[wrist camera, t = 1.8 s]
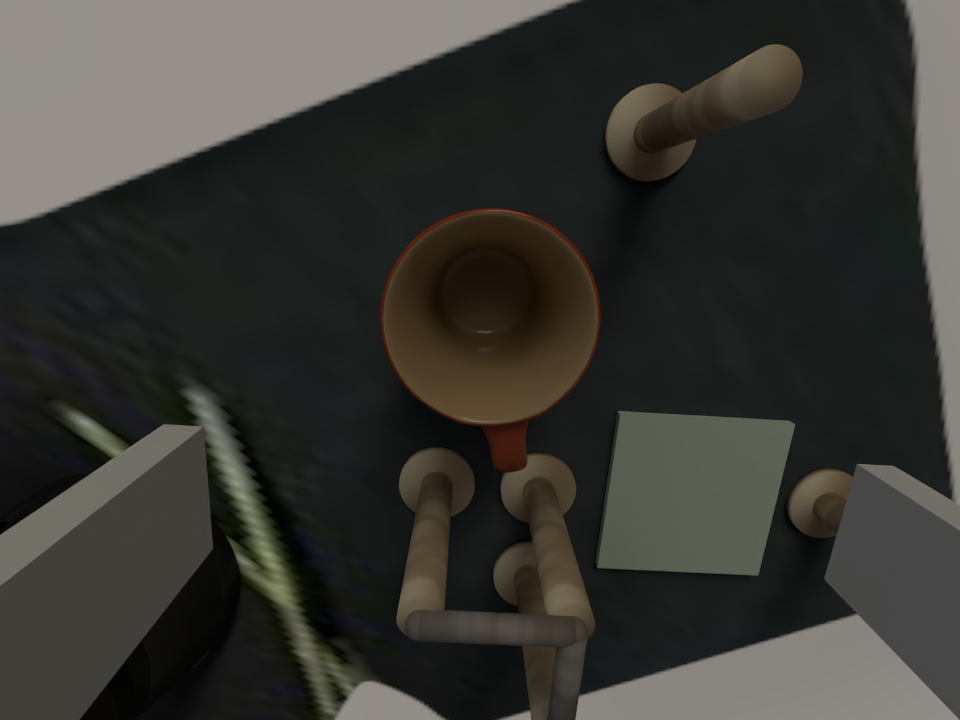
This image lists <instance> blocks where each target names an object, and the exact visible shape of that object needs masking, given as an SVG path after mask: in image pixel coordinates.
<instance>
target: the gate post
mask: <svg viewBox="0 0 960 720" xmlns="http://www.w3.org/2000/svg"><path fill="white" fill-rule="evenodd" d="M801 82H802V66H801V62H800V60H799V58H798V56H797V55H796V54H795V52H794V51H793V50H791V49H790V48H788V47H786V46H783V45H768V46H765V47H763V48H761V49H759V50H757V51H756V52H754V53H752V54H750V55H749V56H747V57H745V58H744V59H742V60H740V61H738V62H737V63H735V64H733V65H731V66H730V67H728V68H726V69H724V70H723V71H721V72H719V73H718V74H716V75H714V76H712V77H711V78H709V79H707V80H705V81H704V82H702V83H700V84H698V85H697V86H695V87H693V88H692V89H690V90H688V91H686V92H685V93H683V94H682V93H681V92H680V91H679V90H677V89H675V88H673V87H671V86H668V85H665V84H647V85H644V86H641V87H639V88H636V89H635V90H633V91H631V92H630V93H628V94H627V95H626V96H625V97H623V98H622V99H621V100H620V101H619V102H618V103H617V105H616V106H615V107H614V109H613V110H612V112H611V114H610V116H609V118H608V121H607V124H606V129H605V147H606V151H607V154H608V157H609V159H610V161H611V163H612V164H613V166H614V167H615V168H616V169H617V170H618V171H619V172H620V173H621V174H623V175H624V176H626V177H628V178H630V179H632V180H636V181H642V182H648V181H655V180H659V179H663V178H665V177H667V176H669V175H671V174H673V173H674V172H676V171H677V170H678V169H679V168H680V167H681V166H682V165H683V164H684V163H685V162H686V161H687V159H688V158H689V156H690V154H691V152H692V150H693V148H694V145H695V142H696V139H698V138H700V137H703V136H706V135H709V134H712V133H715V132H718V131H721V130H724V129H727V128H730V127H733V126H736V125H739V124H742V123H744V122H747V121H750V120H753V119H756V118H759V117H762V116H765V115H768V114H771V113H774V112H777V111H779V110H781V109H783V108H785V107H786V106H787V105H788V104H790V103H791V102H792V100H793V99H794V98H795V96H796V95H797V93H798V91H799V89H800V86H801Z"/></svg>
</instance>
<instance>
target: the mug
mask: <svg viewBox="0 0 960 720" xmlns="http://www.w3.org/2000/svg"><path fill="white" fill-rule="evenodd" d="M600 323H601V308H600V300H599V294H598V290H597V286H596V283H595V280H594V277H593V275H592V273H591V270H590V268H589V266H588V264H587V263H586V261H585V259H584V258H583V256H582V255H581V253H580V252H579V251H578V249H577V248H576V247H575V246H574V245H573V244H572V243H571V241H570V240H569V239H568V238H566V237H565V236H564V235H563V234H562V233H561V232H559V231H558V230H557V229H555V228H554V227H553V226H551V225H549V224H548V223H546V222H544V221H542V220H540V219H538V218H536V217H534V216H531V215H528V214H525V213H522V212H518V211H514V210H508V209H499V208H484V209H474V210H469V211H464V212H461V213H458V214H454V215H452V216H449V217H447V218H445V219H442V220H440V221H439V222H437V223H435V224H433V225H432V226H430V227H429V228H427V229H426V230H424V231H423V232H422V233H421V234H419V235H418V236H417V237H416V238H415V239H414V240H413V241H412V242H411V243H410V244H409V245H408V246H407V247H406V248H405V250H404V251H403V252H402V254H401V255H400V256H399V258H398V259H397V261H396V263H395V264H394V266H393V268H392V270H391V272H390V274H389V276H388V279H387V282H386V284H385V288H384V292H383V296H382V302H381V311H380V324H381V334H382V340H383V344H384V348H385V351H386V354H387V357H388V359H389V361H390V363H391V366H392V368H393V369H394V371H395V373H396V375H397V376H398V378H399V379H400V380H401V382H402V383H403V385H404V386H405V387H406V388H407V389H408V390H409V391H410V392H411V394H413V395H414V396H415V397H416V398H417V399H418V400H419V401H420V402H422V403H423V404H424V405H426V406H427V407H429V408H430V409H432V410H433V411H435V412H437V413H439V414H441V415H443V416H445V417H447V418H449V419H451V420H454V421H456V422H459V423H462V424H466V425H472V426H481V427H482V429H483V431H484V433H485V434H486V436H487V438H488V441H489V445H490V449H491V455H492V462H493V466H494V469H495V470H496V471H497V472H499V473H510V472H516V471H520V470H523V469H524V468H525V467H526V466H527V462H528V459H527V449H526V430H527V427H528V422H529V419H531V418H535V417H537V416H539V415H542V414H544V413H545V412H547V411H548V410H550V409H551V408H552V407H554V406H555V405H556V404H557V403H559V402H560V401H561V400H562V399H563V398H564V397H565V396H566V395H567V394H568V393H569V392H570V391H571V390H572V389H573V388H574V387H575V386H576V384H577V383H578V382H579V380H580V379H581V378H582V376H583V375H584V373H585V371H586V370H587V368H588V366H589V364H590V362H591V360H592V358H593V355H594V352H595V350H596V346H597V342H598V338H599V332H600Z"/></svg>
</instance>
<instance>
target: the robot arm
mask: <svg viewBox="0 0 960 720" xmlns="http://www.w3.org/2000/svg"><path fill="white" fill-rule="evenodd" d="M824 580H825V581H826V582H827V583H828V584H829V585H830V586H831V587H832V588H833V589H834V590H835V591H836V592H837V593H838V594H839V595H840V596H841V597H842V598H843V599H844V600H845V601H846V602H847V603H848V604H849V605H850V606H851V607H852V609H853V610H854V611H855V612H856V613H857V614H858V615H859V616H860V617H861V618H862V619H863V620H864V621H865V622H866V623H867V624H868V625H869V626H870V627H871V628H872V629H873V630H874V631H875V632H876V633H877V634H878V635H879V637H880V638H881V639H882V640H883V641H884V642H885V643H886V644H887V645H888V646H889V647H890V648H891V649H892V650H893V651H894V652H895V653H896V654H897V655H898V656H899V657H900V658H901V659H902V660H903V661H904V662H905V663H906V665H907V666H908V667H909V668H910V669H911V670H912V671H913V672H914V673H915V674H916V675H917V676H918V677H919V678H920V679H921V680H922V681H923V682H924V683H925V684H926V685H927V686H928V687H929V688H930V689H931V690H932V691H933V693H934V694H936V695H937V697H938V698H939V699H940V700H941V701H942V702H943V703H944V704H945V705H946V706H947V707H948V708H949V709H950V710H951V711H952V712H953V713H954V714H955V715H956V716H957V717H958V718H959V719H960V505H958V504H956V503H955V502H953V501H951V500H950V499H948V498H946V497H945V496H943V495H941V494H940V493H938V492H936V491H935V490H933V489H931V488H930V487H928V486H926V485H925V484H923V483H921V482H920V481H918V480H916V479H914V478H913V477H911V476H909V475H908V474H906V473H904V472H903V471H901V470H899V469H898V468H896V467H894V466H882V465H865V464H857V466H856V470H855V473H854V477H853V480H852V484H851V487H850V491H849V494H848V498H847V501H846V505H845V508H844V512H843V515H842V519H841V522H840V526H839V529H838V533H837V536H836V540H835V543H834V547H833V550H832V554H831V557H830V561H829V564H828V568H827V571H826V575H825V578H824ZM239 591H240V578H239V570H238V565H237V561H236V558H235V555H234V553H233V550H232V548H231V546H230V544H229V542H228V540H227V538H226V537H225V535H224V534H223V532H222V531H221V529H220V528H219V527H218V525H217V524H216V523H215V522H214V520H213V519H212V518H211V516H210V503H209V490H208V478H207V465H206V453H205V440H204V427H199V426H181V425H162V426H161V427H159V428H158V429H156V430H155V431H153V432H152V433H150V434H149V435H147V436H146V437H144V438H143V439H142V440H140V441H139V442H137V443H136V444H134V445H133V446H131V447H130V448H128V449H127V450H125V451H124V452H122V453H121V454H119V455H118V456H116V457H115V458H113V459H112V460H110V461H109V462H107V463H106V464H105V465H103V466H102V467H100V468H99V469H97V470H96V471H94V472H93V473H84V474H79V475H75V476H71V477H68V478H65V479H62V480H59V481H57V482H55V483H53V484H51V485H49V486H47V487H45V488H44V489H42V490H41V491H39V492H38V493H36V494H35V495H33V496H31V497H30V498H28V499H27V500H25V501H24V502H22V503H21V504H19V505H18V506H16V507H15V508H14V509H12V510H11V511H10V512H9V513H8V514H6V515H5V516H4V517H3V518H2V519H1V520H0V720H135V719H137V718H138V717H139V716H140V715H141V714H142V713H143V712H144V711H146V710H147V709H148V708H149V707H150V706H151V705H152V704H153V703H155V702H156V701H157V700H158V699H159V698H160V697H161V696H162V695H163V694H165V693H166V692H167V691H168V690H169V689H170V688H171V687H172V686H173V685H174V684H175V683H177V682H178V681H179V680H180V679H182V678H183V677H184V676H186V675H187V674H188V673H190V672H191V671H192V670H194V669H195V668H196V667H197V666H198V665H199V664H201V663H202V662H203V661H204V659H205V658H206V657H207V656H208V655H209V654H210V652H211V651H212V650H213V648H214V647H215V646H216V644H217V642H218V641H219V639H220V637H221V636H222V634H223V632H224V631H225V629H226V627H227V626H228V624H229V622H230V621H231V619H232V617H233V615H234V612H235V610H236V607H237V603H238V598H239Z"/></svg>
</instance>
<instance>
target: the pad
mask: <svg viewBox="0 0 960 720" xmlns="http://www.w3.org/2000/svg"><path fill="white" fill-rule="evenodd" d="M794 427H795V424H793V423H792V422H790V421H782V420H765V419H748V418H730V417H713V416H695V415H678V414H661V413H643V412H626V411H617V417H616V424H615V431H614V438H613V445H612V452H611V458H610V465H609V472H608V479H607V486H606V493H605V499H604V506H603V513H602V520H601V527H600V534H599V540H598V547H597V554H596V561H595V563H596V565H597V568H610V569H631V570H652V571H674V572H695V573H716V574H738V575H758V574H759V570H760V566H761V562H762V558H763V553H764V549H765V545H766V541H767V537H768V533H769V529H770V525H771V521H772V517H773V513H774V508H775V504H776V500H777V496H778V492H779V488H780V484H781V480H782V476H783V472H784V468H785V463H786V459H787V455H788V451H789V447H790V443H791V439H792V435H793V431H794Z"/></svg>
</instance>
